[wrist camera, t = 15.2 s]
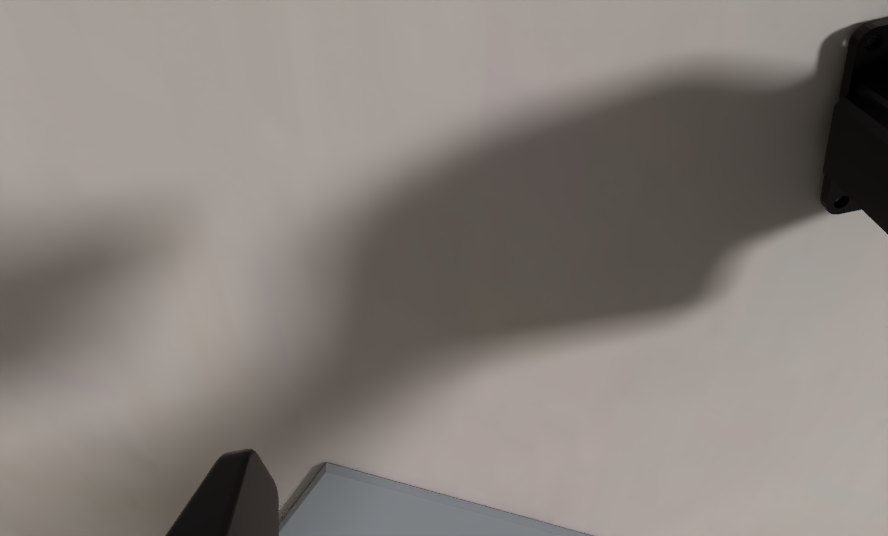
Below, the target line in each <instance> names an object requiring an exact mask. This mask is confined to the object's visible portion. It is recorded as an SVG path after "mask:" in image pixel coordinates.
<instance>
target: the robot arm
mask: <svg viewBox="0 0 888 536" xmlns="http://www.w3.org/2000/svg"><path fill="white" fill-rule="evenodd" d="M873 36H876V37H875V39H874V42H873V43H872V44H870V45H869V46H867V47H865V46H866V43H867V41H868V40H869V39H870V38H871V37H873ZM823 172H824V174H825V176H824V182H823V187H822V193H821V198H820V201H821V204H822V206H823V207H824V208H825V209H826V210H827V211H828V212H829V213H831V214H842V213H847V212H852V211H856V210H861V209H862V210H863V211H864V212H865V213H866V214H867V215H868V216H869V217H870V218H871V219H872V220H873V221H874V222H876V223H877V224H878V225H879V226H880V227H881V228H882V229H883V230H884V231H885V232H886V233H887V234H888V18H886V19H881V20H877V21H872V22H869V23H866V24H864V25H862V26H861V27H859V28H858V29H857V30H856V31H855V32H854V34H853V35H852V37H851V39H850V42H849V46H848V52H847V57H846V63H845V68H844V74H843V79H842V84H841V90H840V95H839V100H838V101H837V103H836V104H835V107H834V112H833V118H832V123H831V129H830V134H829V140H828V145H827V151H826V156H825V162H824V167H823ZM841 196H842V197H841ZM838 197H841V198H840V199H839V200H837V201H835V200H836V199H837V198H838ZM166 536H279V502H278V492H277V487H276V484H275V482H274V480H273V478H272V477H271V475H270V474H269V472H268V470H267V469H266V467H265V465H264V464H263V462H262V460H261V459H260V457H259V456H258V454H257V453H256V452H255V451H254V450H252V449H244V450H239V451H233V452H228V453H225V454H223V455H222V456H221V457H220V458H219V459H218V460H217V461H216V463H215V464H214V466H213V467H212V469H211V470H210V471H209V473H208V474H207V476H206V477H205V479H204V480H203V482H202V483H201V485H200V486H199V488H198V489H197V490H196V492H195V493H194V495H193V496H192V498H191V499H190V501H189V502H188V504H187V505H186V507H185V508H184V509H183V511H182V512H181V514H180V515H179V517H178V518H177V520H176V521H175V523H174V524H173V526H172V527H171V529H170V530H169V531H168V533H167V534H166Z"/></svg>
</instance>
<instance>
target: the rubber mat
mask: <svg viewBox="0 0 888 536" xmlns="http://www.w3.org/2000/svg"><path fill="white" fill-rule="evenodd" d="M279 536H591V535H587V534H584V533H580V532H577V531H573V530H569V529H566V528H562V527H558V526H555V525H551V524H548V523H544V522H540V521H537V520H533V519H529V518H526V517H522V516H519V515H515V514H511V513H508V512H504V511H500V510H497V509H493V508H489V507H486V506H482V505H479V504H475V503H471V502H468V501H464V500H460V499H457V498H453V497H450V496H446V495H442V494H439V493H435V492H431V491H428V490H424V489H421V488H417V487H413V486H410V485H406V484H402V483H399V482H395V481H391V480H388V479H384V478H381V477H377V476H373V475H370V474H366V473H362V472H359V471H355V470H352V469H348V468H344V467H341V466H337V465H333V464H330V463H326V464H325V465H324V466H323V468H322V469H321V470H320V472H319V473H318V474H317V476H316V477H315V478H314V480H313V481H312V482H311V483H310V485H309V486H308V487H307V489H306V490H305V491H304V493H303V494H302V495H301V497H300V498H299V499H298V501H297V502H296V503H295V504H294V506H293V507H292V508H291V510H290V511H289V512H288V514H287V515H286V516H285V518H284V519H283V520H282V522H281V523H280V524H279Z"/></svg>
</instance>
